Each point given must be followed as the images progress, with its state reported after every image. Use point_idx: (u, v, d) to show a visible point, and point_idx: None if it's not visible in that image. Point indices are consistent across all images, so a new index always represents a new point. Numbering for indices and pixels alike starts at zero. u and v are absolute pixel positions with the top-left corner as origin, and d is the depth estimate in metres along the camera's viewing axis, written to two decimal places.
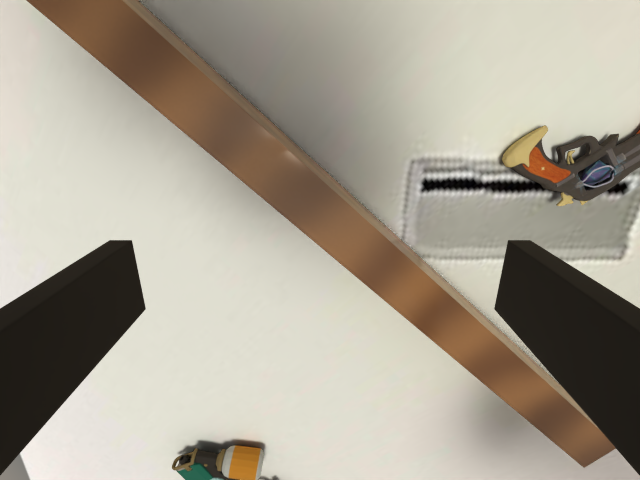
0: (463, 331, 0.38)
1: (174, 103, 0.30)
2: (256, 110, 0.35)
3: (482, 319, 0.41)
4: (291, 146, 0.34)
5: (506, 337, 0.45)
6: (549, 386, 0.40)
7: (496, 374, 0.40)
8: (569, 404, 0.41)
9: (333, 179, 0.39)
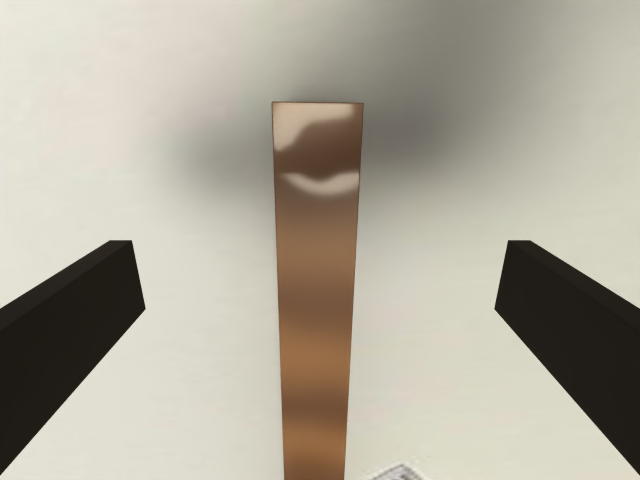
0: None
1: (300, 353, 0.25)
2: None
3: None
4: None
5: None
6: None
7: None
8: None
9: None
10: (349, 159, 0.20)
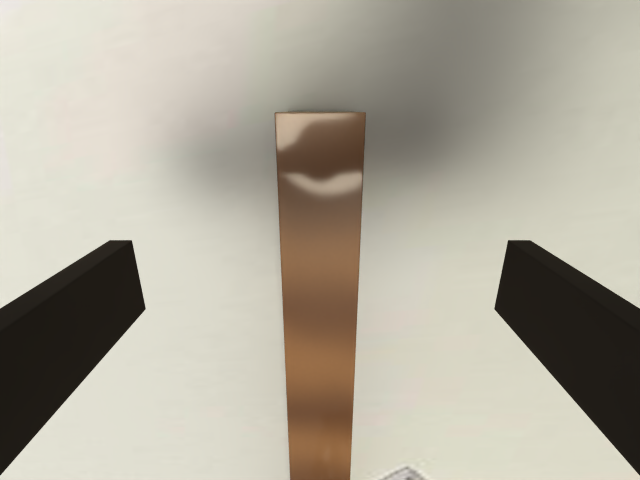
0: None
1: (305, 359, 0.25)
2: None
3: None
4: None
5: None
6: None
7: None
8: None
9: None
10: (352, 167, 0.20)
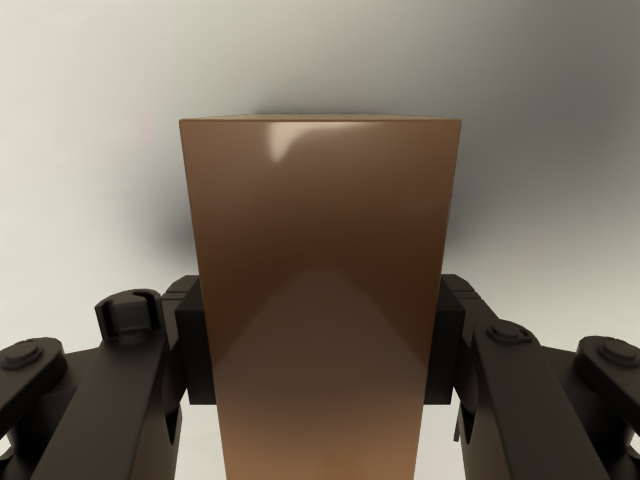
0: None
1: None
2: None
3: None
4: None
5: None
6: None
7: None
8: None
9: None
10: (411, 274, 0.07)
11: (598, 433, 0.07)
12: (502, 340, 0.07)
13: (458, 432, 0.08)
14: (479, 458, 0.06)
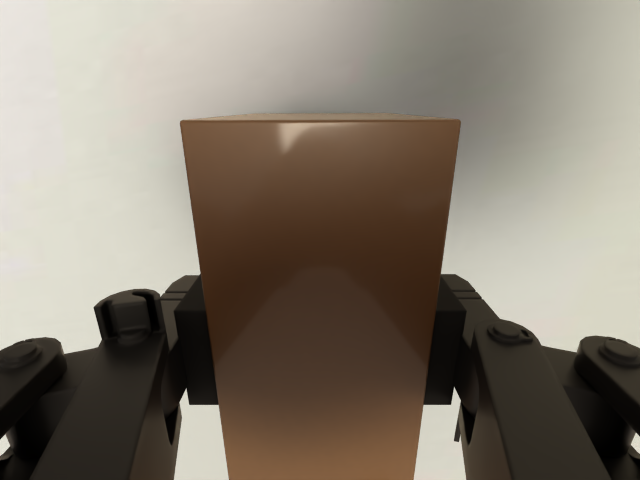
0: None
1: None
2: None
3: None
4: None
5: None
6: None
7: None
8: None
9: None
10: (411, 273, 0.07)
11: (598, 433, 0.07)
12: (503, 340, 0.07)
13: (459, 432, 0.08)
14: (479, 458, 0.06)
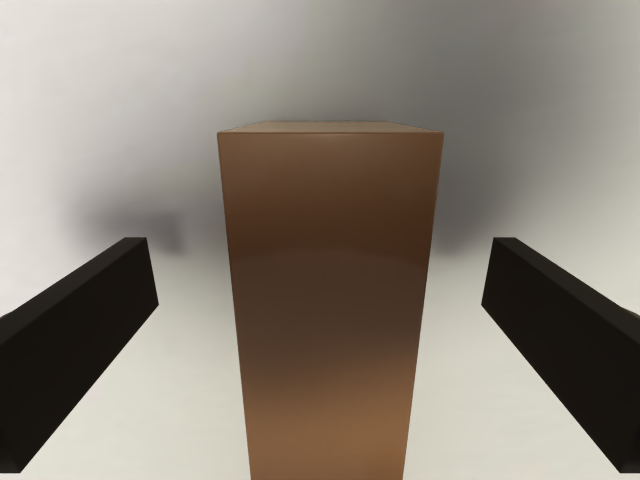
0: None
1: None
2: None
3: None
4: None
5: None
6: None
7: None
8: None
9: None
10: (404, 258, 0.09)
11: None
12: None
13: None
14: None
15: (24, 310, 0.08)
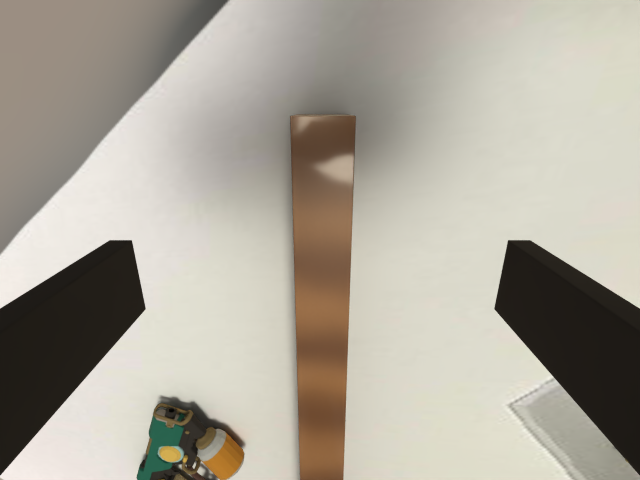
0: None
1: (311, 305, 0.32)
2: None
3: None
4: None
5: None
6: None
7: None
8: None
9: None
10: (346, 156, 0.28)
11: None
12: None
13: None
14: None
15: None
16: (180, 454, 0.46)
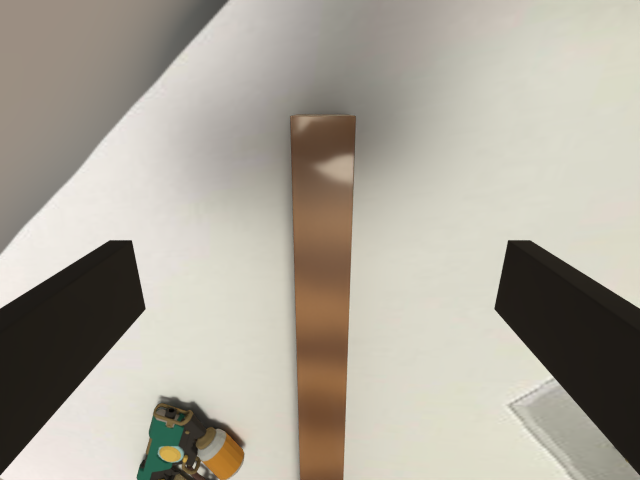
0: None
1: (311, 305, 0.32)
2: None
3: None
4: None
5: None
6: None
7: None
8: None
9: None
10: (346, 156, 0.28)
11: None
12: None
13: None
14: None
15: None
16: (180, 454, 0.46)
